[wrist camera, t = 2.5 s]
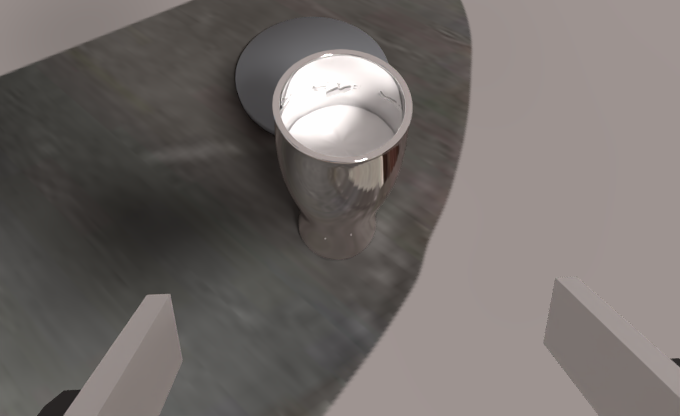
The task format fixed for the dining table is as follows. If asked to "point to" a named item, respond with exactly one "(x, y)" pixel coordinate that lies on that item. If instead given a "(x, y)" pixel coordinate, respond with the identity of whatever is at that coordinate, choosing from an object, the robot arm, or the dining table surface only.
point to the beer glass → (340, 145)
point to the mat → (290, 58)
